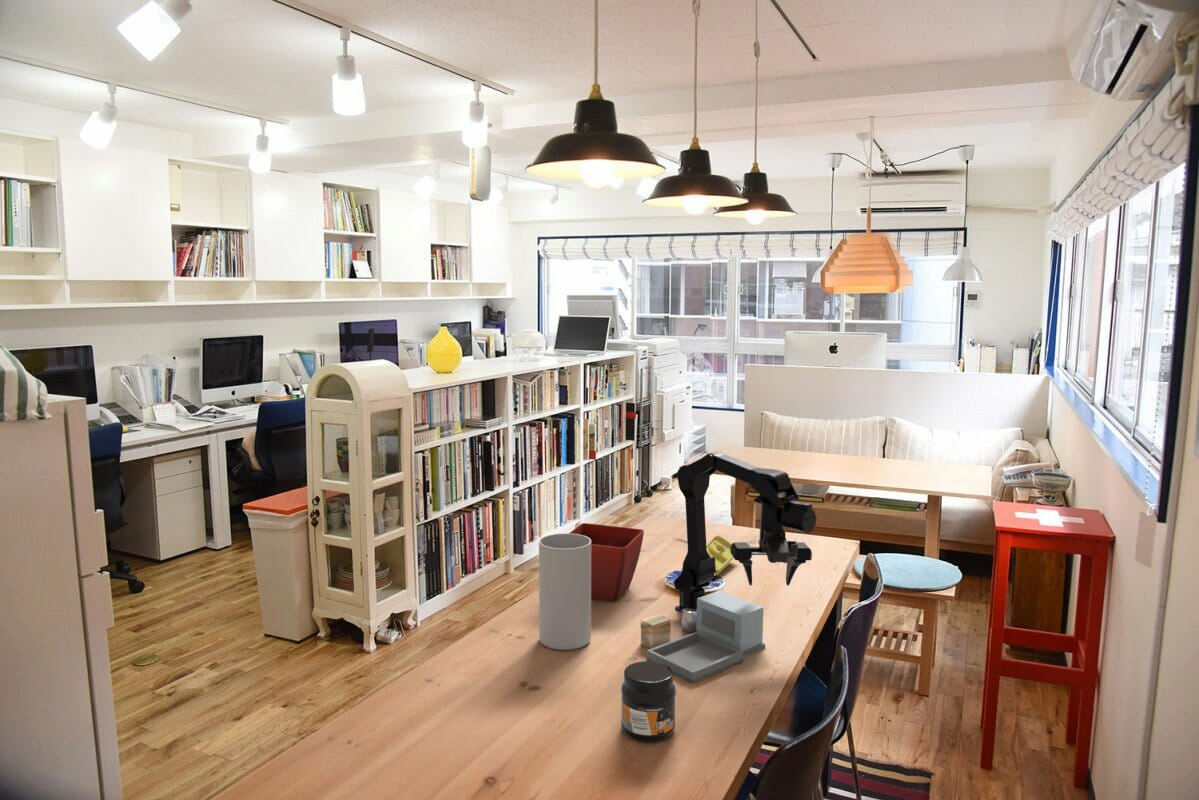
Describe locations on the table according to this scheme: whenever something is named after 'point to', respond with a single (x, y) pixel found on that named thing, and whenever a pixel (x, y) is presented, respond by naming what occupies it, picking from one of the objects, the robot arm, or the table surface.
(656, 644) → the block
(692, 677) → the parts tray
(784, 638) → the table surface
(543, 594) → the cylinder vase
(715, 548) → the plastic component
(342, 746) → the table surface
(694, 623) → the chrome-capped short cylinder
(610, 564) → the plant pot
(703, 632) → the box
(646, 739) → the supplement container
